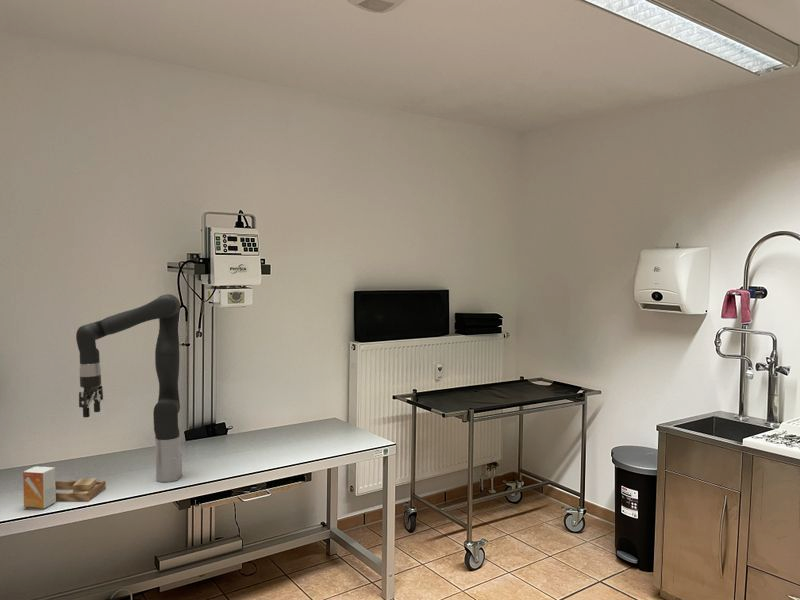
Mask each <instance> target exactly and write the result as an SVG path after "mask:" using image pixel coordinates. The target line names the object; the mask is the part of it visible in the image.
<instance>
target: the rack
mask: <svg viewBox="0 0 800 600" xmlns="http://www.w3.org/2000/svg"><path fill="white" fill-rule="evenodd" d="M77 481H78V480H55V486H56V490H68V491H69V490H70V491H72V490H73V485H74V484H75V483H76V482H77ZM96 482H97V486H96V487H94V488H93V489H91V490H90V491H88V492H87V493H69V492H58V491H57V492H56V502H61V503H62V502H68V503H69V502H70V503H71V502H74V503H76V502H81V503H82V502H83V503H84V502H86V503H87V502H90V501H91V500H93V499H94V498H95V497H97V496H98V495H99V494H101V493H102V492H104V491H105V490H106V489H107V483H106V482H107V481H105V480H96Z"/></svg>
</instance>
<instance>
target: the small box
mask: <svg viewBox="0 0 800 600" xmlns="http://www.w3.org/2000/svg"><path fill="white" fill-rule="evenodd" d="M22 477H23V478H22V479H23V482H22V484H23V507H24V508H26V507H35V508H46V507H47V506H49V505H50V506H52V505H53V504H55V503H57V501H56V491H57V489H56V486H55V481H56V467H55V466H53V467H51V466H38V465H37V466H33V467H31V468H28V469H26V470H24V471H23V472H22ZM51 504H52V505H51ZM50 506H49V507H50ZM47 508H48V507H47ZM47 508H46V509H47Z"/></svg>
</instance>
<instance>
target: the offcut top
mask: <svg viewBox="0 0 800 600" xmlns="http://www.w3.org/2000/svg"><path fill="white" fill-rule="evenodd" d="M76 481H77V482H76V483H75V484H74V485H73V492H84V491H90V490H91V489H93V488H94V487H95V486H96V485H97V482H96V481H97V478H96V477H95V478H92V477H91V478H79V479H78V480H76Z"/></svg>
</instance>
